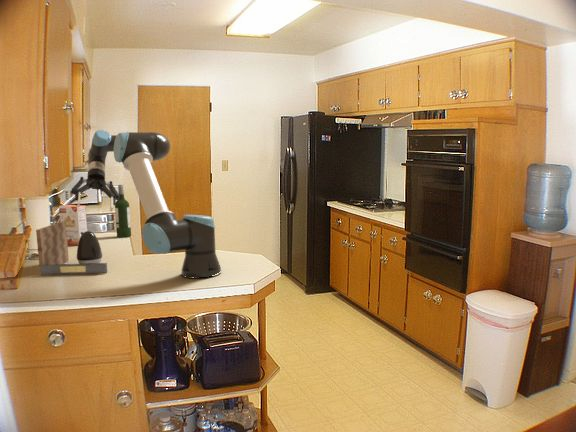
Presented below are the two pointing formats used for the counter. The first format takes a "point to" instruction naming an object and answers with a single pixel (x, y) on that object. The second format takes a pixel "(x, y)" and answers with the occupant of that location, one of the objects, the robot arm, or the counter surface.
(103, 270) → the price rail
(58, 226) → the shelf side panel
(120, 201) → the wine bottle
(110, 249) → the counter surface
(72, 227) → the cracker box
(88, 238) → the black rounded dome
